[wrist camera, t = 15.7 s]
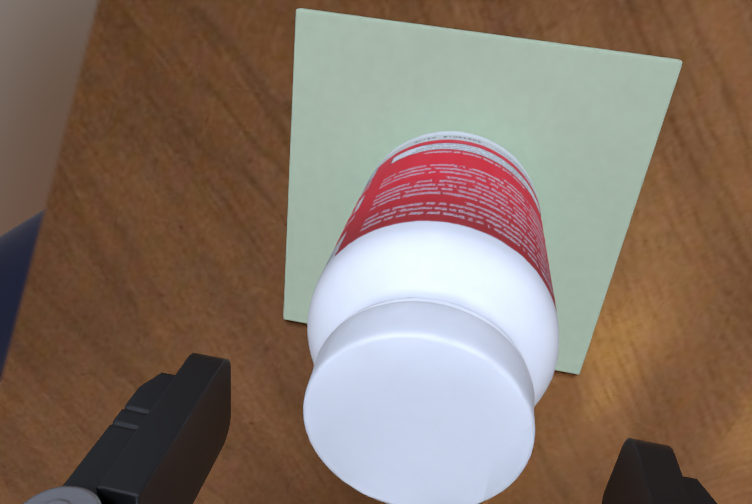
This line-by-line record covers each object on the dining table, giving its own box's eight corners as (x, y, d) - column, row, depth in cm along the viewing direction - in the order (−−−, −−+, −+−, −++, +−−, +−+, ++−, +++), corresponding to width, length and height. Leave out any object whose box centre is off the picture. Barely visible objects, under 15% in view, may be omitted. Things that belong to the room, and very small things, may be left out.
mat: (285, 314, 26) (282, 319, 25) (298, 7, 20) (295, 9, 20) (578, 368, 25) (579, 375, 24) (680, 59, 19) (683, 61, 19)
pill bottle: (352, 134, 21) (233, 303, 12) (536, 117, 20) (575, 291, 10) (377, 290, 24) (298, 533, 14) (541, 284, 23) (576, 546, 13)
